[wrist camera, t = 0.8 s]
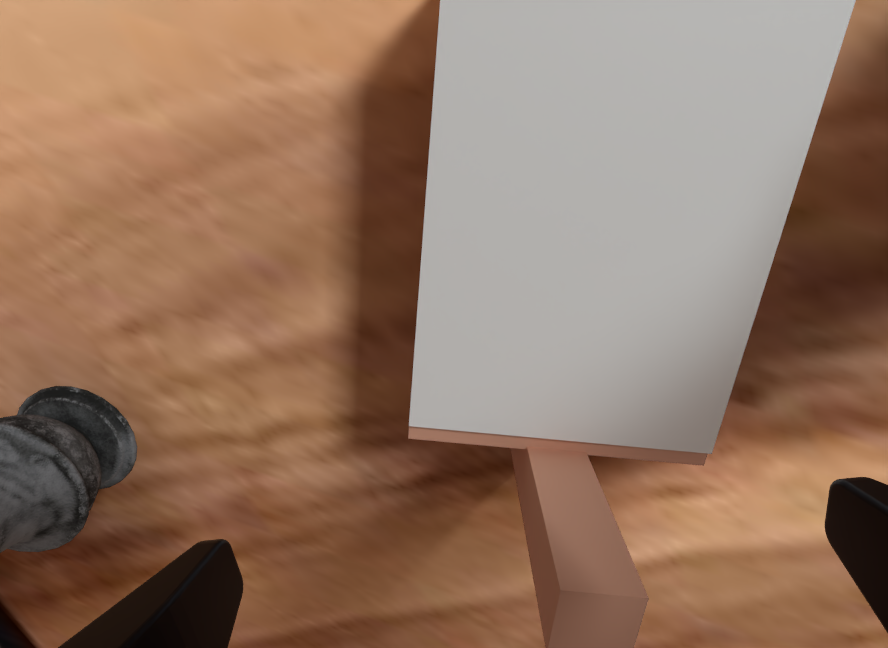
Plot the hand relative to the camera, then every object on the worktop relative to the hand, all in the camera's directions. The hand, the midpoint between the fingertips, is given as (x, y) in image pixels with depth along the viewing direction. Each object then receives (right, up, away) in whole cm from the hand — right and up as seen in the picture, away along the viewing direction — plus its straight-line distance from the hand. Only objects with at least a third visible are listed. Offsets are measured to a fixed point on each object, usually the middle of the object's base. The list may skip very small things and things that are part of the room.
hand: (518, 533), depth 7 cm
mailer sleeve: (+3, +7, +11) cm, 13 cm away
